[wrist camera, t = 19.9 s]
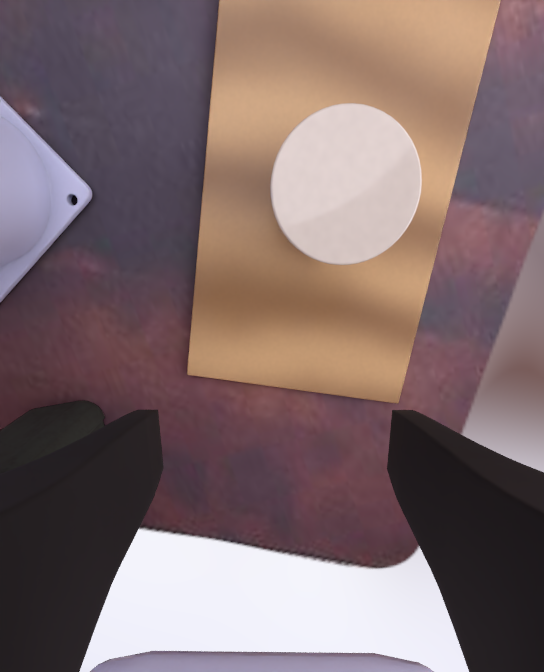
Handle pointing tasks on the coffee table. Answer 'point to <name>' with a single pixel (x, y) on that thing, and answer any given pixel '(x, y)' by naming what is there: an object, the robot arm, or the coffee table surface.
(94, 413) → the candle
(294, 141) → the canister
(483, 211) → the coffee table surface
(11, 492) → the robot arm
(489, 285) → the coffee table surface
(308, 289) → the mat
